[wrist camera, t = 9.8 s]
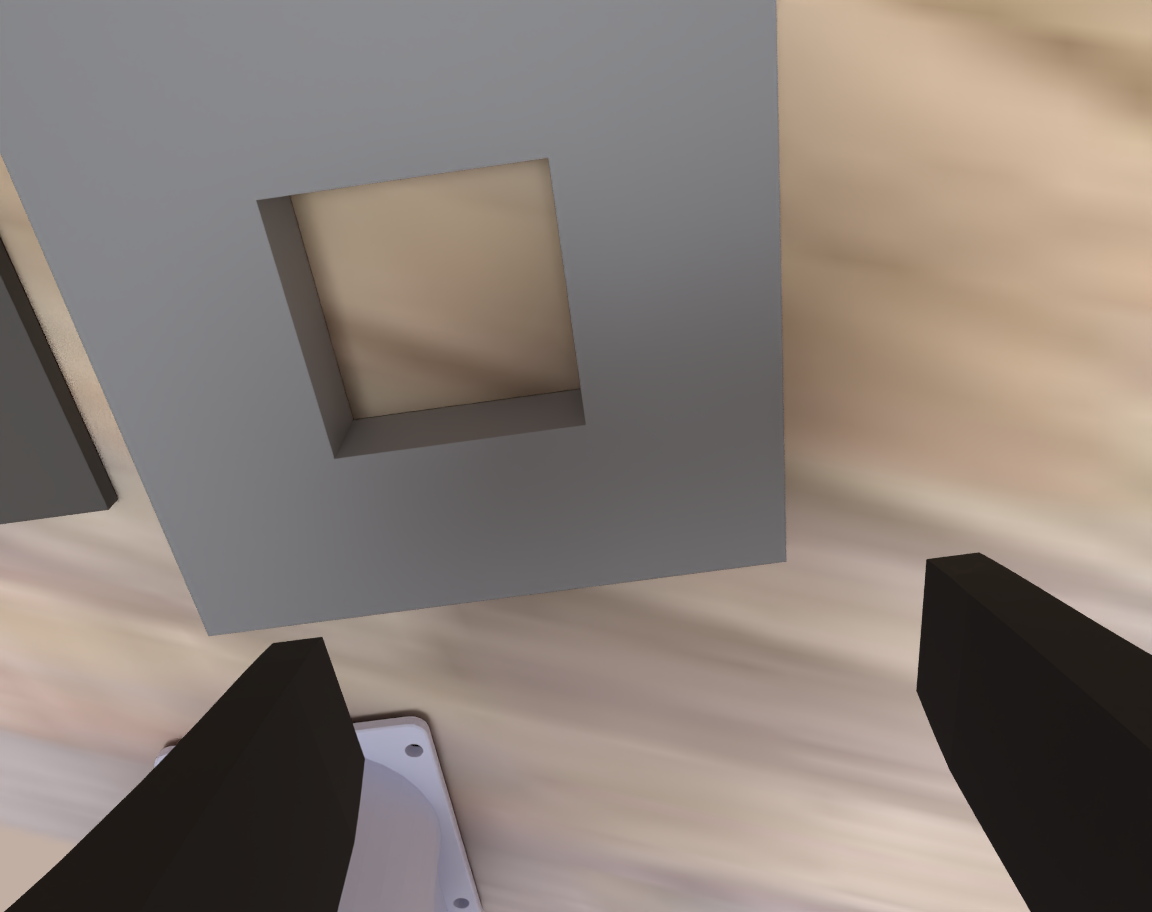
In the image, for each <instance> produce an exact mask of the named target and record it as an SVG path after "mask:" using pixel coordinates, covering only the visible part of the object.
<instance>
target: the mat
mask: <svg viewBox="0 0 1152 912" xmlns="http://www.w3.org/2000/svg"><path fill="white" fill-rule="evenodd" d="M117 500H118V498H117V496H116V494H115V492H114V490H113V487H112V485H111V483H110V481H109V479H108V476H107V474H106V472H105V470H104V467H103V465H102V463H101V461H100V459H99V456H98V454H97V452H96V450H95V448H94V445H93V443H92V441H91V439H90V436H89V434H88V432H87V430H86V428H85V425H84V423H83V421H82V419H81V417H80V414H79V412H78V410H77V408H76V405H75V403H74V401H73V399H72V397H71V394H70V392H69V390H68V388H67V386H66V383H65V381H64V379H63V377H62V375H61V372H60V370H59V368H58V366H57V363H56V361H55V359H54V357H53V355H52V352H51V350H50V348H49V346H48V344H47V341H46V339H45V337H44V335H43V332H42V330H41V328H40V326H39V324H38V321H37V319H36V317H35V315H34V313H33V310H32V308H31V306H30V304H29V301H28V299H27V297H26V295H25V293H24V290H23V288H22V286H21V284H20V282H19V279H18V277H17V275H16V273H15V270H14V268H13V266H12V264H11V262H10V259H9V257H8V255H7V253H6V251H5V248H4V246H3V244H2V242H1V240H0V524H6V523H13V522H21V521H28V520H35V519H43V518H50V517H58V516H65V515H73V514H80V513H88V512H95V511H102V510H109V509H110V507H111V506H112V505H113V504H114V503H115V502H116V501H117Z"/></svg>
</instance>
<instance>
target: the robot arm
mask: <svg viewBox="0 0 1152 912" xmlns="http://www.w3.org/2000/svg"><path fill="white" fill-rule="evenodd" d="M916 691H917V693H918V696H919V698H920V701H921V703H922V706H923V708H924V711H925V713H926V716H927V718H928V720H929V723H930V725H931V728H932V730H933V733H934V735H935V737H936V740H937V742H938V744H939V747H940V749H941V751H942V754H943V756H944V758H945V760H946V763H947V765H948V767H949V770H950V771H951V773H952V775H953V777H954V779H955V780H956V782H957V784H958V786H959V788H960V789H961V791H962V793H963V795H964V797H965V798H966V800H967V802H968V804H969V805H970V807H971V809H972V811H973V812H974V814H975V816H976V818H977V819H978V821H979V823H980V825H981V826H982V828H983V830H984V832H985V833H986V835H987V837H988V839H989V840H990V842H991V844H992V846H993V847H994V849H995V851H996V853H997V854H998V856H999V858H1000V859H1001V861H1002V863H1003V865H1004V866H1005V868H1006V870H1007V872H1008V873H1009V875H1010V877H1011V878H1012V880H1013V882H1014V884H1015V885H1016V887H1017V889H1018V891H1019V892H1020V894H1021V896H1022V897H1023V899H1024V901H1025V903H1026V904H1027V906H1028V908H1029V910H1030V911H1031V912H1152V655H1151V654H1149V653H1147V652H1145V651H1144V650H1142V649H1140V648H1139V647H1137V646H1135V645H1133V644H1132V643H1130V642H1128V641H1127V640H1125V639H1123V638H1122V637H1120V636H1118V635H1116V634H1115V633H1113V632H1111V631H1110V630H1108V629H1106V628H1105V627H1103V626H1101V625H1100V624H1098V623H1096V622H1095V621H1093V620H1091V619H1090V618H1088V617H1086V616H1085V615H1083V614H1082V613H1080V612H1078V611H1077V610H1075V609H1073V608H1072V607H1070V606H1068V605H1067V604H1065V603H1063V602H1062V601H1060V600H1059V599H1057V598H1055V597H1054V596H1052V595H1050V594H1049V593H1047V592H1045V591H1044V590H1042V589H1041V588H1039V587H1037V586H1036V585H1034V584H1032V583H1031V582H1029V581H1027V580H1026V579H1024V578H1022V577H1021V576H1019V575H1017V574H1016V573H1014V572H1012V571H1011V570H1009V569H1007V568H1006V567H1004V566H1002V565H1001V564H999V563H997V562H995V561H994V560H992V559H990V558H988V557H986V556H985V555H983V554H981V553H972V554H964V555H956V556H948V557H940V558H933V559H927V560H926V573H925V586H924V599H923V612H922V625H921V638H920V651H919V664H918V677H917V690H916ZM411 744H417V745H419V747H414V746H411ZM154 766H155V768H154V769H153V770H152V771H151V772H150V773H149V774H148V775H147V776H146V777H145V778H144V779H143V780H142V781H141V782H140V783H139V784H138V785H137V786H136V787H135V788H134V789H133V790H132V791H131V792H130V793H129V794H128V795H127V796H126V797H125V798H124V799H123V800H122V801H121V802H120V803H119V804H118V805H117V806H116V807H115V808H114V809H113V810H112V811H111V812H110V813H109V814H108V815H107V816H106V817H105V818H104V819H103V820H102V821H101V822H100V823H99V824H98V825H97V826H96V827H95V828H93V829H92V830H91V831H90V832H89V833H88V834H87V835H86V836H85V837H84V838H83V839H82V840H81V841H80V842H79V843H78V844H77V845H76V846H75V847H74V848H73V849H72V850H71V851H70V852H69V853H68V854H67V855H66V856H65V857H64V858H63V859H62V860H61V861H60V862H59V863H58V864H57V865H55V866H54V867H53V868H52V869H51V870H50V871H49V872H48V873H47V874H46V875H45V876H43V877H42V878H41V879H40V880H39V881H38V882H37V883H36V884H35V885H34V886H32V887H31V888H30V889H29V890H28V891H27V892H26V893H25V894H24V895H22V896H21V897H20V898H19V899H18V900H17V901H16V902H15V903H14V904H12V905H11V906H10V907H9V908H8V909H7V910H6V911H4V912H483V910H482V907H481V903H480V900H479V896H478V893H477V889H476V886H475V883H474V879H473V876H472V872H471V869H470V866H469V862H468V859H467V855H466V852H465V849H464V845H463V842H462V838H461V835H460V831H459V828H458V825H457V821H456V818H455V814H454V811H453V808H452V804H451V801H450V797H449V794H448V791H447V787H446V784H445V780H444V777H443V773H442V770H441V767H440V763H439V760H438V756H437V753H436V750H435V746H434V743H433V739H432V736H431V733H430V729H429V726H428V725H427V723H426V722H425V721H424V720H422V719H421V718H418V717H413V716H407V717H399V718H391V719H383V720H375V721H367V722H359V723H352V720H351V717H350V715H349V712H348V709H347V706H346V703H345V700H344V697H343V695H342V692H341V689H340V686H339V683H338V680H337V677H336V675H335V672H334V669H333V666H332V663H331V660H330V657H329V655H328V652H327V649H326V646H325V643H324V640H323V637H318V638H310V639H302V640H294V641H287V642H279V643H273V644H271V645H270V646H269V647H268V648H267V649H266V650H265V651H264V652H263V653H262V654H261V655H260V656H259V657H258V658H257V659H256V660H255V661H254V662H253V664H252V665H251V666H250V667H249V668H248V669H247V670H246V671H245V672H244V673H243V674H242V675H241V676H240V677H239V678H238V679H237V681H236V682H235V683H234V684H233V685H232V686H231V687H230V688H229V689H228V690H227V691H226V692H225V693H224V695H223V696H222V697H221V698H220V699H219V700H218V701H217V702H216V703H215V704H214V705H213V706H212V707H211V709H210V710H209V711H208V712H207V713H206V714H205V715H204V716H203V717H202V718H201V719H200V720H199V722H198V723H197V724H196V725H195V726H194V727H193V728H192V729H191V730H190V731H189V732H188V733H187V734H186V735H185V736H184V737H183V738H182V739H181V740H180V742H179V743H178V744H177V745H176V746H169V747H166V748H163V749H162V750H161V751H160V752H159V754H158V756H157V758H156V760H155V763H154Z"/></svg>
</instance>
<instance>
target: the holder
mask: <svg viewBox="0 0 1152 912" xmlns="http://www.w3.org/2000/svg"><path fill="white" fill-rule="evenodd" d="M0 154H1V156H2V158H3V161H4V163H5V165H6V167H7V170H8V172H9V174H10V177H11V179H12V181H13V184H14V186H15V188H16V191H17V193H18V195H19V198H20V200H21V202H22V205H23V207H24V209H25V212H26V214H27V216H28V219H29V221H30V223H31V225H32V228H33V230H34V232H35V235H36V237H37V239H38V242H39V244H40V246H41V249H42V251H43V253H44V256H45V258H46V260H47V263H48V265H49V267H50V270H51V272H52V274H53V276H54V279H55V281H56V283H57V286H58V288H59V290H60V293H61V295H62V297H63V300H64V302H65V304H66V307H67V309H68V311H69V314H70V316H71V318H72V321H73V323H74V325H75V327H76V330H77V332H78V334H79V337H80V339H81V341H82V344H83V346H84V348H85V351H86V353H87V355H88V358H89V360H90V362H91V365H92V367H93V369H94V372H95V374H96V376H97V378H98V381H99V383H100V385H101V388H102V390H103V392H104V395H105V397H106V399H107V402H108V404H109V406H110V409H111V411H112V413H113V416H114V418H115V420H116V423H117V425H118V427H119V429H120V432H121V434H122V436H123V439H124V441H125V443H126V446H127V448H128V450H129V453H130V455H131V457H132V460H133V462H134V464H135V467H136V469H137V471H138V474H139V476H140V478H141V481H142V483H143V485H144V487H145V490H146V492H147V494H148V497H149V499H150V501H151V504H152V506H153V508H154V511H155V513H156V515H157V518H158V520H159V522H160V525H161V527H162V529H163V532H164V534H165V536H166V538H167V541H168V543H169V545H170V548H171V550H172V552H173V555H174V557H175V559H176V562H177V564H178V566H179V569H180V571H181V573H182V576H183V578H184V580H185V583H186V585H187V587H188V589H189V592H190V594H191V596H192V599H193V601H194V603H195V606H196V608H197V610H198V613H199V615H200V617H201V620H202V622H203V624H204V627H205V629H206V631H207V634H208V636H214V635H221V634H229V633H237V632H245V631H252V630H260V629H268V628H276V627H283V626H291V625H299V624H307V623H314V622H322V621H330V620H338V619H345V618H353V617H361V616H369V615H376V614H384V613H392V612H400V611H407V610H415V609H423V608H430V607H438V606H446V605H454V604H461V603H469V602H477V601H485V600H492V599H500V598H508V597H516V596H523V595H531V594H539V593H547V592H554V591H562V590H570V589H578V588H585V587H593V586H601V585H609V584H616V583H624V582H632V581H640V580H647V579H655V578H663V577H671V576H678V575H686V574H694V573H702V572H709V571H717V570H725V569H733V568H740V567H748V566H756V565H764V564H771V563H779V562H786V516H785V461H784V405H783V350H782V294H781V239H780V183H779V128H778V72H777V17H776V0H0ZM544 158H548V160H549V167H550V174H551V181H552V188H553V195H554V202H555V209H556V216H557V223H558V231H559V238H560V245H561V252H562V259H563V266H564V273H565V280H566V287H567V294H568V302H569V309H570V316H571V323H572V330H573V337H574V344H575V351H576V358H577V365H578V373H579V380H580V387H581V389H577V390H570V391H562V392H555V393H548V394H540V395H533V396H526V397H518V398H511V399H504V400H496V401H489V402H482V403H474V404H467V405H460V406H452V407H445V408H438V409H430V410H423V411H416V412H408V413H401V414H394V415H386V416H379V417H372V418H364V419H357V420H353V417H352V414H351V410H350V407H349V403H348V400H347V396H346V393H345V389H344V386H343V382H342V379H341V375H340V372H339V368H338V365H337V361H336V358H335V354H334V351H333V347H332V344H331V340H330V337H329V333H328V330H327V326H326V322H325V319H324V315H323V312H322V308H321V305H320V301H319V298H318V294H317V291H316V287H315V284H314V280H313V277H312V273H311V270H310V266H309V263H308V259H307V256H306V252H305V249H304V245H303V242H302V238H301V235H300V231H299V227H298V224H297V220H296V217H295V213H294V210H293V206H292V203H291V199H290V196H289V195H295V194H302V193H309V192H316V191H323V190H330V189H337V188H344V187H351V186H358V185H364V184H371V183H378V182H385V181H392V180H399V179H406V178H413V177H420V176H427V175H433V174H440V173H447V172H454V171H461V170H468V169H475V168H482V167H489V166H496V165H502V164H509V163H516V162H523V161H530V160H537V159H544Z"/></svg>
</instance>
